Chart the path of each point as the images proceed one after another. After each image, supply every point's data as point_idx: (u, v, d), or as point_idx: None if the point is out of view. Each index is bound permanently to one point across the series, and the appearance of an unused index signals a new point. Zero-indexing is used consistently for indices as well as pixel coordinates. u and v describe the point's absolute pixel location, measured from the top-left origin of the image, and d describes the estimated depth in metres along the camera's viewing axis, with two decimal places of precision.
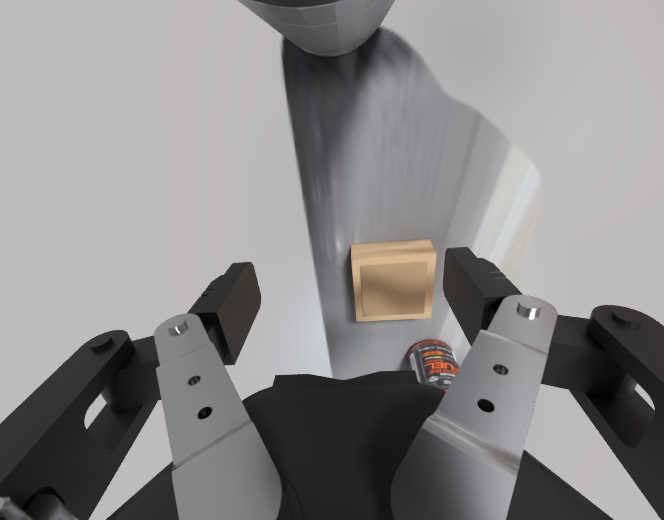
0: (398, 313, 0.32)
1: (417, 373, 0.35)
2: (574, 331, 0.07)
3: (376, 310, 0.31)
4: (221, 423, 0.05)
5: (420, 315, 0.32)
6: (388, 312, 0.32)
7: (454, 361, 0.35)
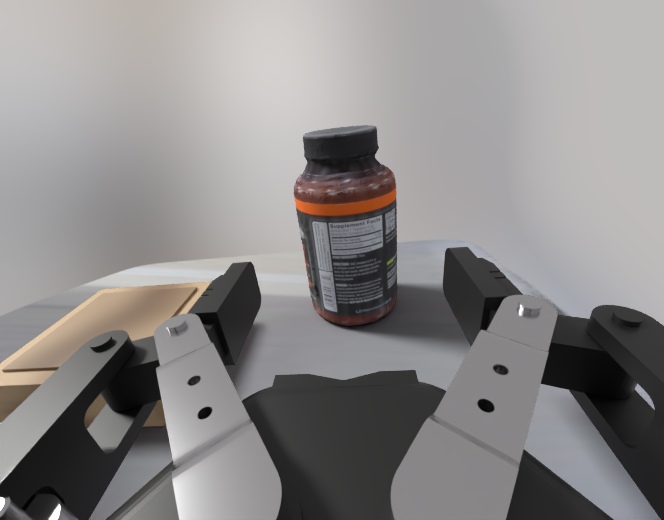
0: (171, 312, 0.16)
1: (319, 265, 0.17)
2: (574, 331, 0.07)
3: None
4: (221, 423, 0.05)
5: (202, 290, 0.19)
6: (157, 325, 0.15)
7: None
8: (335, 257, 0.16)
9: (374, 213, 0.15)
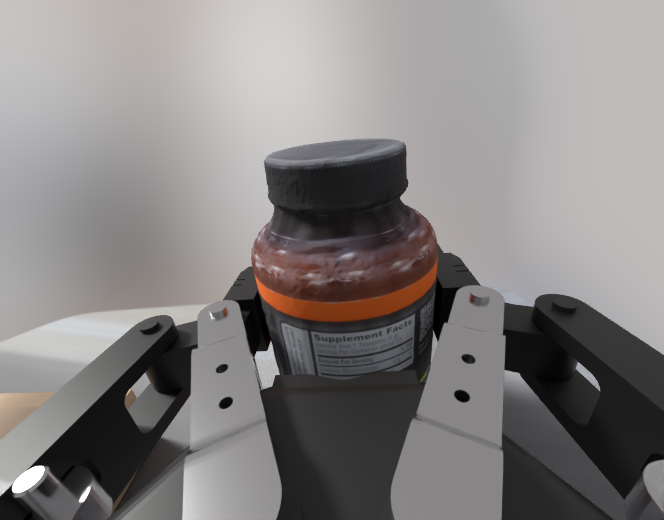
0: None
1: None
2: (520, 318, 0.08)
3: None
4: (238, 415, 0.05)
5: None
6: None
7: None
8: None
9: (402, 313, 0.08)
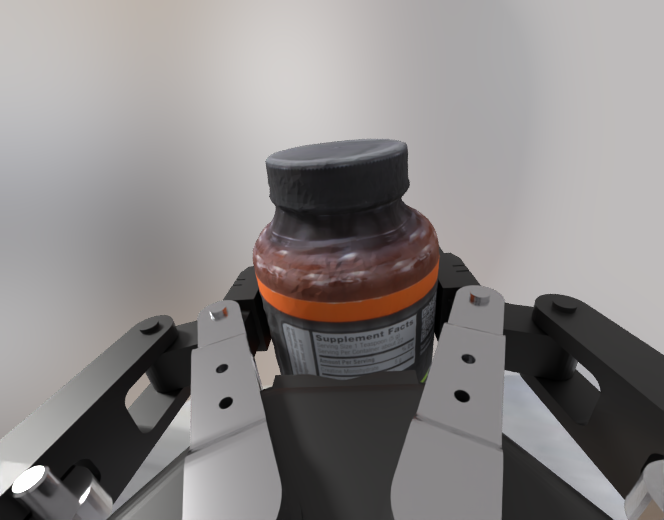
0: None
1: None
2: (520, 318, 0.08)
3: None
4: (238, 416, 0.05)
5: None
6: None
7: None
8: None
9: (403, 314, 0.08)
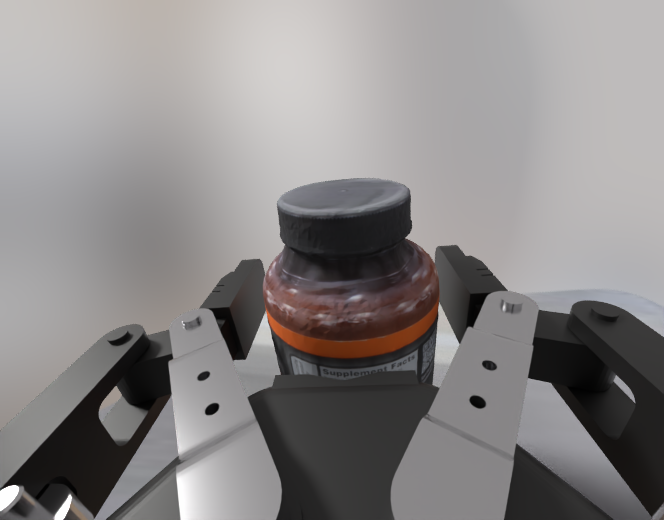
0: None
1: None
2: (555, 326, 0.08)
3: None
4: (226, 421, 0.05)
5: None
6: None
7: None
8: None
9: (405, 350, 0.08)
